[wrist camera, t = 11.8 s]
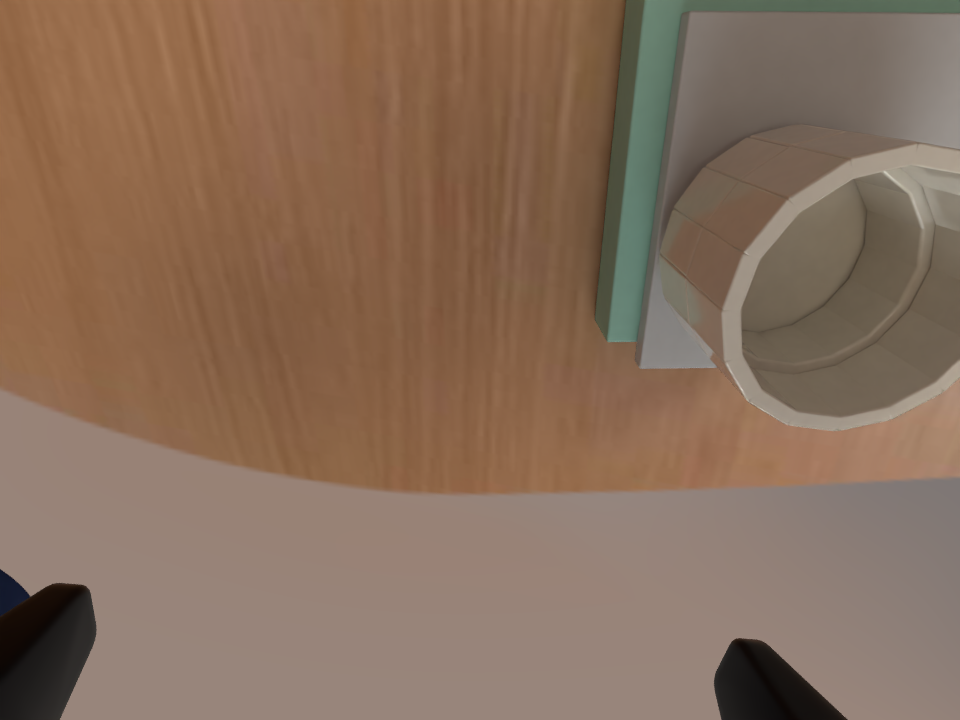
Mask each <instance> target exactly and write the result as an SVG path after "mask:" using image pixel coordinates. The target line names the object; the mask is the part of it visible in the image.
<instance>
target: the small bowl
mask: <svg viewBox="0 0 960 720" xmlns="http://www.w3.org/2000/svg"><path fill="white" fill-rule="evenodd" d="M659 262H660V272H661V282H662V292H663V295H664V299H665V300H666V302H667V303H668V305H669V307H670V308H671V310H672V312H673V313H674V315H675V317H676V318H677V320H678V321H679V323H680V325H681V326H682V328H683V329H684V330H685V331H686V332H687V333H688V334H689V336H690V337H691V338H692V339H693V340H694V341H695V342H696V343H697V345H698V346H699V347H700V348H701V349H702V350H703V351H704V353H705V354H706V355H707V356H708V357H709V358H710V360H711V361H712V362H713V363H714V364H715V365H716V366H717V368H718V369H719V370H720V371H721V372H722V373H723V374H724V375H725V377H726V378H727V379H728V380H729V381H730V382H731V383H732V385H733V386H734V387H735V388H736V389H737V390H738V391H739V392H740V394H741V395H742V396H743V397H744V398H745V399H746V400H747V401H748V402H749V403H750V404H752V405H754V406H755V407H757V408H759V409H760V410H762V411H764V412H765V413H767V414H769V415H770V416H772V417H774V418H775V419H777V420H779V421H780V422H782V423H784V424H787V425H789V426H797V427H805V428H813V429H821V430H829V431H841V430H846V429H851V428H856V427H860V426H865V425H870V424H875V423H880V422H884V421H889V420H890V419H894V418H896V417H898V416H900V415H902V414H903V413H905V412H907V411H909V410H911V409H913V408H915V407H917V406H919V405H921V404H922V403H924V402H926V401H928V400H930V399H932V398H934V397H936V396H938V395H940V394H941V393H943V391H946V390H947V389H948V388H949V387H950V386H951V385H952V384H953V383H955V382H956V381H957V380H958V379H959V378H960V149H955V148H949V147H944V146H938V145H933V144H928V143H922V142H916V141H910V140H904V139H897V138H891V137H884V136H878V135H871V134H865V133H858V132H851V131H845V130H839V129H832V128H826V127H819V126H813V125H806V124H800V125H798V124H795V125H791V126H787V127H783V128H778V129H774V130H770V131H766V132H762V133H758V134H754V135H752V136H750V137H747V138H745V139H744V140H742V141H741V142H739V143H738V144H736V145H735V146H733V147H732V148H730V149H729V150H727V151H726V152H724V153H723V154H722V155H720V156H719V157H717V158H716V159H714V160H713V161H711V162H710V163H708V164H707V165H706V167H704V168H702V169H701V171H700V172H699V174H698V175H697V176H696V178H695V179H694V180H693V182H692V183H691V184H690V186H689V187H688V188H687V190H686V191H685V192H684V194H683V195H682V196H681V198H680V199H679V200H678V202H677V203H676V204H675V206H674V209H673V210H672V213H671V216H670V219H669V223H668V226H667V229H666V232H665V236H664V239H663V242H662V245H661V249H660V254H659Z"/></svg>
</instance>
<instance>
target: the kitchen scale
mask: <svg viewBox="0 0 960 720" xmlns="http://www.w3.org/2000/svg"><path fill="white" fill-rule="evenodd" d="M795 124H798V125H800V124H806V125H813V126H819V127H826V128H832V129H839V130H845V131H851V132H858V133H865V134H871V135H878V136H884V137H891V138H897V139H904V140H910V141H916V142H922V143H928V144H933V145H938V146H944V147H949V148H955V149H960V0H626V8H625V18H624V28H623V38H622V48H621V59H620V69H619V79H618V89H617V99H616V109H615V119H614V130H613V140H612V150H611V160H610V170H609V180H608V190H607V201H606V211H605V221H604V231H603V241H602V251H601V261H600V271H599V282H598V292H597V302H596V312H595V321H596V323H597V324H598V326H599V328H600V330H601V331H602V333H603V335H604V337H605V339H606V340H607V341H608V342H637V346H636V353H635V362H636V363H637V365H638V366H639V368H641V369H653V368H717V366H716V365H715V364H714V363H713V362H712V361H711V360H710V358H709V357H708V356H707V355H706V354H705V353H704V351H703V350H702V349H701V348H700V347H699V346H698V345H697V343H696V342H695V341H694V340H693V339H692V338H691V337H690V336H689V334H688V333H687V332H686V331H685V330H684V329H683V328H682V326H681V325H680V323H679V321H678V320H677V318H676V317H675V315H674V313H673V312H672V310H671V308H670V307H669V305H668V303H667V302H666V300H665V299H664V295H663V292H662V282H661V272H660V262H659V254H660V249H661V245H662V242H663V239H664V236H665V232H666V229H667V226H668V223H669V219H670V216H671V213H672V210H673V209H674V206H675V204H676V203H677V202H678V200H679V199H680V198H681V196H682V195H683V194H684V192H685V191H686V190H687V188H688V187H689V186H690V184H691V183H692V182H693V180H694V179H695V178H696V176H697V175H698V174H699V172H700V171H701V169H702V168H704V167H706V165H707V164H708V163H710V162H711V161H713V160H714V159H716V158H717V157H719V156H720V155H722V154H723V153H724V152H726V151H727V150H729V149H730V148H732V147H733V146H735V145H736V144H738V143H739V142H741V141H742V140H744V139H745V138H747V137H750V136H752V135H754V134H758V133H762V132H766V131H770V130H774V129H778V128H783V127H787V126H791V125H795Z"/></svg>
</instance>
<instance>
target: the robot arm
mask: <svg viewBox="0 0 960 720" xmlns="http://www.w3.org/2000/svg"><path fill="white" fill-rule="evenodd" d="M95 637H96V621H95V616H94V610H93V605H92V599H91V594H90V590H89V589H88V588H87V587H86V586H84V585H78V584H77V585H76V584H65V583H56V584H52V585H49V586H47V587H45V588H44V589H42V590H41V591H39V592H37V593H36V594H34V595H33V596H31V597H30V598H28V599H27V600H25V601H24V602H22V603H21V604H19V605H17V606H16V607H14V608H13V609H11V610H10V611H8V612H7V613H5V614H4V615H2V616H1V617H0V720H60V718H61V716H62V713H63V711H64V709H65V707H66V704H67V702H68V700H69V698H70V696H71V693H72V691H73V689H74V687H75V685H76V682H77V680H78V678H79V676H80V673H81V671H82V669H83V667H84V665H85V662H86V660H87V658H88V656H89V654H90V651H91V649H92V647H93V644H94V641H95ZM714 687H715V694H716V698H717V702H718V707H719V711H720V715H721V719H722V720H847V719H846V718H845V717H844V716H843V715H842V714H841V713H840V712H839V711H838V710H837V709H835V708H834V706H832V705H831V704H830V703H829V702H828V701H827V700H826V699H825V698H824V697H823V696H822V695H821V694H820V693H819V692H817V690H815V689H814V688H813V687H812V686H811V685H810V684H809V683H808V682H807V681H806V680H805V679H804V678H802V676H801V675H799V674H798V673H797V672H796V671H795V670H794V669H793V668H792V667H791V666H790V665H789V664H788V663H787V662H786V661H785V660H784V659H782V658H781V657H780V656H779V655H778V654H777V653H776V652H775V651H774V650H773V649H772V648H771V647H770V646H768V645H767V644H766V643H764V642H762V641H760V640H753V639H742V638H738V639H735V640H733V641H732V642H731V644H730V645H729V647H728V649H727V651H726V653H725V655H724V657H723V659H722V661H721V663H720V665H719V667H718V669H717V671H716V674H715V679H714Z"/></svg>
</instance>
